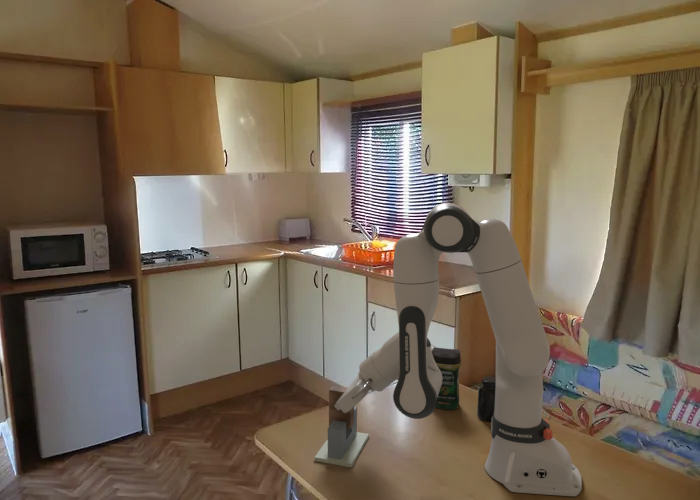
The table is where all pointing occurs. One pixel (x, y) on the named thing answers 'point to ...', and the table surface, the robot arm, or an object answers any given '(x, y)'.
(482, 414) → the supplement bottle
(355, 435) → the notched receiver
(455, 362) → the coffee jar
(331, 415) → the walnut slat
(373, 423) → the table surface
